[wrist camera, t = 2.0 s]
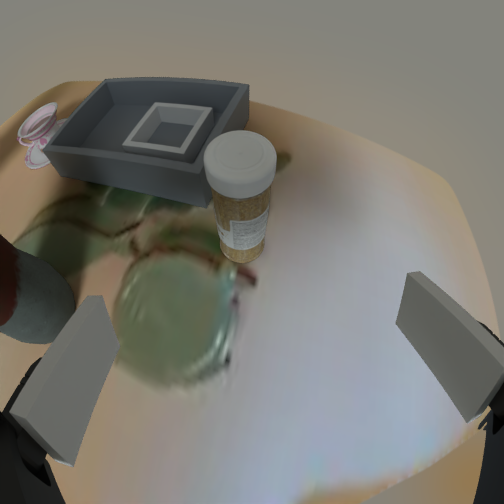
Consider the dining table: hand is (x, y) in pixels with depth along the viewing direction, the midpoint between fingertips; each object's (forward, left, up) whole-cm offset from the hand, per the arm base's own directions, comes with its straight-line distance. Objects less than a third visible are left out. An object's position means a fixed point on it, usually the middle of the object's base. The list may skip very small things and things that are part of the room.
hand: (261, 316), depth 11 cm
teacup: (-42, +19, -15) cm, 48 cm away
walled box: (-21, +20, -15) cm, 33 cm away
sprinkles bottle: (-4, +9, -15) cm, 18 cm away
